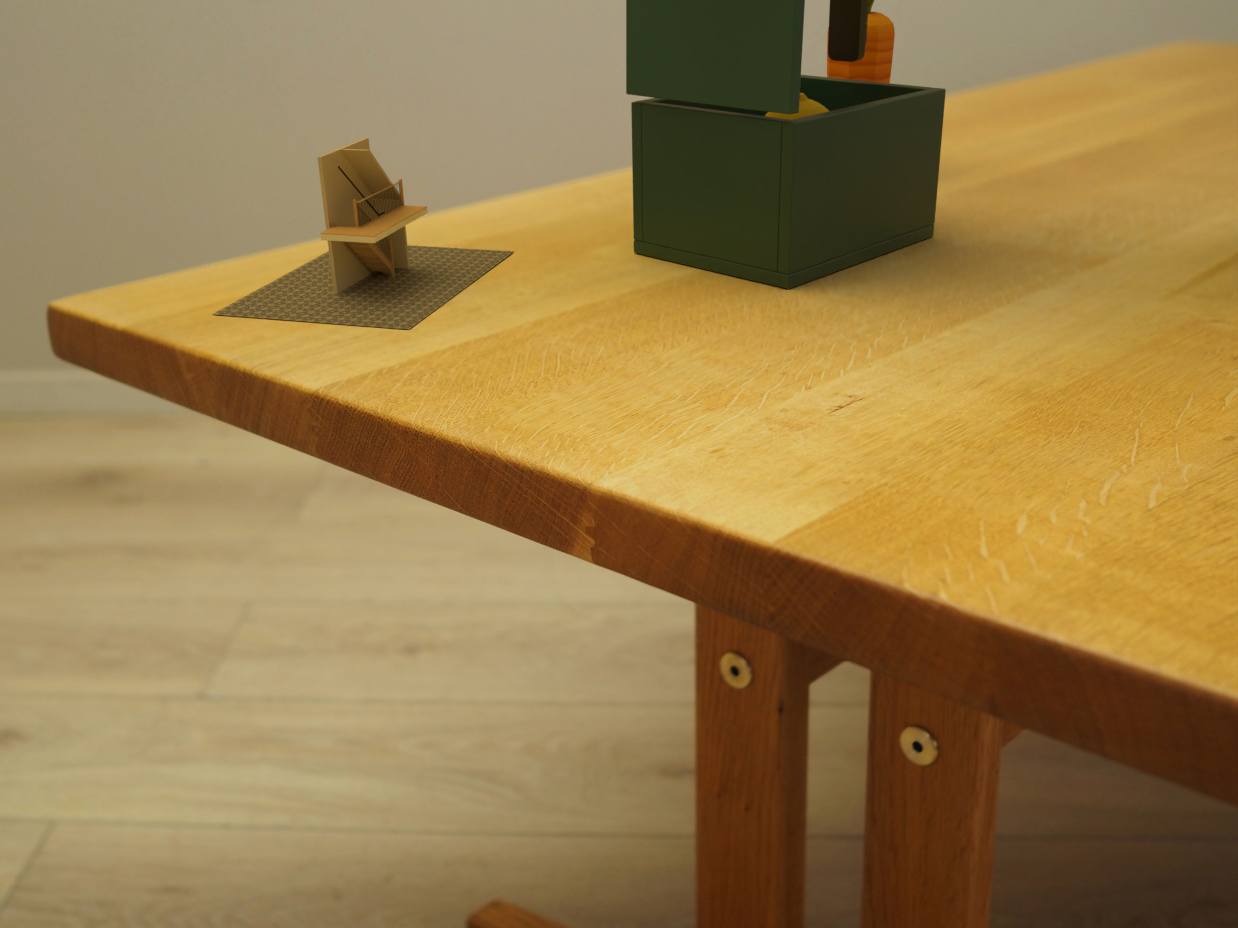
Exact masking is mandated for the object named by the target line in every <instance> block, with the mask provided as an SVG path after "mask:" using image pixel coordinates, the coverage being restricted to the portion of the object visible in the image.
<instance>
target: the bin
mask: <svg viewBox="0 0 1238 928" xmlns="http://www.w3.org/2000/svg"><path fill="white" fill-rule="evenodd" d="M946 92H947V90H946V88H943V87H932V86H931V87H930V86H923V85H910V84H900V83H881V82H871V81H861V80H850V79H840V78H830V77H827V76H818V75H810V74H809V75H808V74H801V82H800V93H804V94H805V95H806V97H807V98H808V99H811V100H814V101H816V102H818V103H820V104H821V105H823V106H824V107H826V108H827V109H828V110H829V111H828V112H824V113H819V114H815V115H810V116H806V117H801V118H797V119H792V120H789V119H782V118H774V117H767V116H765V115H766V114H767V113H768V112H765V111H757V110H749V109H741V108H733V107H725V106H717V105H709V104H701V103H693V102H685V101H677V100H669V99H661V98H653V97H650V98H646V99H641V100H636V101H631V102H630V103H631V105H630V107H631V109H630V110H631V111H630V112H631V161H632V162H631V166H632V170H631V171H632V221H633V223H632V226H633V227H632V228H633V253H634V254H638V255H641V256H647V257H650V258H654V259H659V260H663V261H667V262H671V263H677V264H680V265H685V266H688V267H694V268H696V269H701V270H707V271H710V272H714V273H719V274H722V275H727V276H731V277H735V278H740V279H743V280H748V281H752V282H757V283H761V284H765V285H770V286H773V287H778V288H782V289H787V290H789V289H792V288H794V287H797V286H800V285H803V284H806V283H808V282H809V283H810V282H811V281H814V280H816V279H817V280H818V279H819V278H822V277H825V276H828V275H831V274H833V273H836V272H839V271H841V270H845V269H847V268H851V267H853V266H856V265H858V264H861V263H864V262H867V261H869V260H873V259H875V258H878V257H880V256H883V255H886V254H889V253H891V252H895V251H897V250H900V249H902V248H905V247H908V246H910V245H913V244H916V243H918V242H921V241H925V240H926V239H929V238H932V237H934V234H935V222H936V210H937V198H938V188H939V176H940V164H941V163H940V162H941V151H942V150H941V149H942V141H943V140H942V138H943V127H944V116H945V115H944V114H945V105H946V104H945V103H946V94H947V93H946Z"/></svg>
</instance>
